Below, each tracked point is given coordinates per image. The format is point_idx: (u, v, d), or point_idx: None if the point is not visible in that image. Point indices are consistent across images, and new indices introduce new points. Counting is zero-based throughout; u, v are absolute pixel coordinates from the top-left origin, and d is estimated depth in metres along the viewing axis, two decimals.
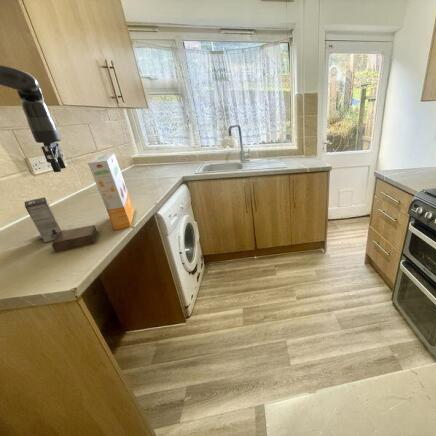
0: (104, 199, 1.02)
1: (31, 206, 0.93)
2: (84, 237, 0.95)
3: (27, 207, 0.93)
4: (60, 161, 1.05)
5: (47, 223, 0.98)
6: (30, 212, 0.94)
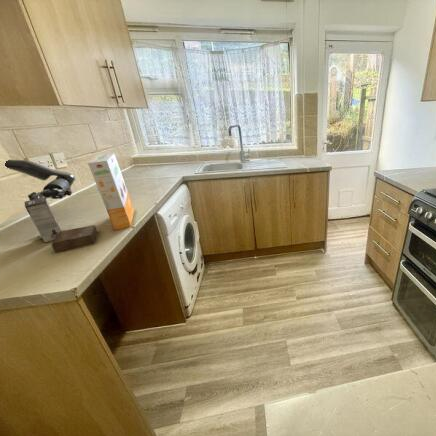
0: (104, 199, 1.02)
1: (31, 206, 0.93)
2: (84, 237, 0.95)
3: (27, 207, 0.93)
4: None
5: (47, 223, 0.98)
6: (30, 212, 0.94)
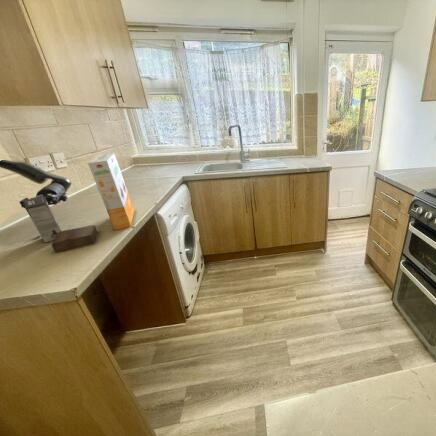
0: (104, 199, 1.02)
1: (31, 208, 0.92)
2: (84, 237, 0.95)
3: (27, 209, 0.92)
4: None
5: (48, 223, 0.97)
6: (30, 213, 0.93)
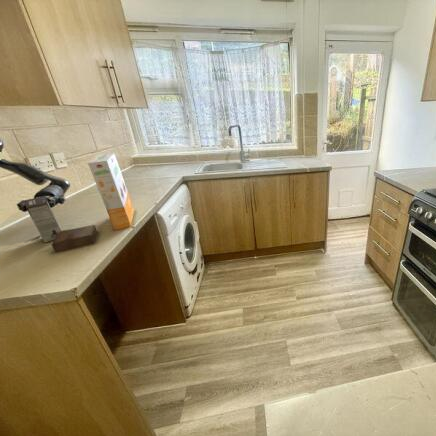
0: (104, 199, 1.02)
1: (32, 207, 0.92)
2: (84, 237, 0.95)
3: (28, 208, 0.92)
4: None
5: (48, 223, 0.97)
6: (31, 213, 0.93)
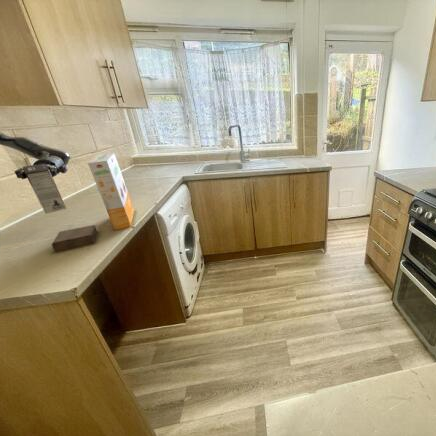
0: (104, 199, 1.02)
1: (32, 173, 0.84)
2: (84, 237, 0.95)
3: (27, 174, 0.84)
4: None
5: (49, 192, 0.90)
6: (31, 180, 0.85)
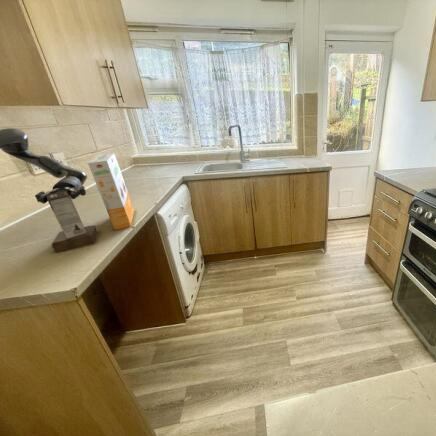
0: (104, 199, 1.02)
1: (54, 199, 0.87)
2: (84, 237, 0.95)
3: (50, 200, 0.87)
4: None
5: (70, 218, 0.92)
6: (53, 206, 0.88)
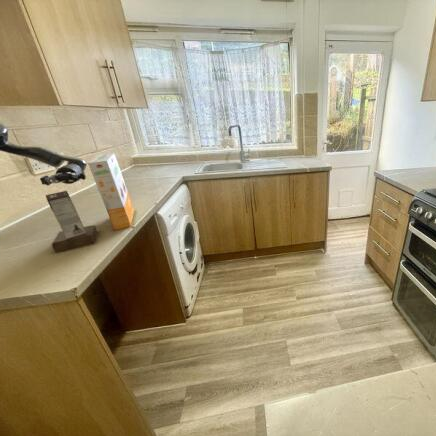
0: (104, 199, 1.02)
1: (53, 200, 0.87)
2: (84, 237, 0.95)
3: (49, 201, 0.86)
4: None
5: (70, 218, 0.92)
6: (52, 206, 0.87)
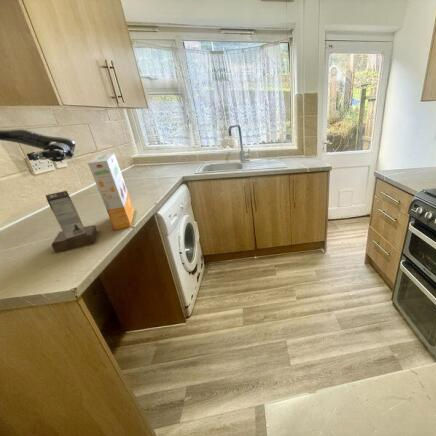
0: (104, 199, 1.02)
1: (53, 200, 0.87)
2: (84, 237, 0.95)
3: (49, 201, 0.86)
4: None
5: (70, 218, 0.92)
6: (52, 206, 0.87)
